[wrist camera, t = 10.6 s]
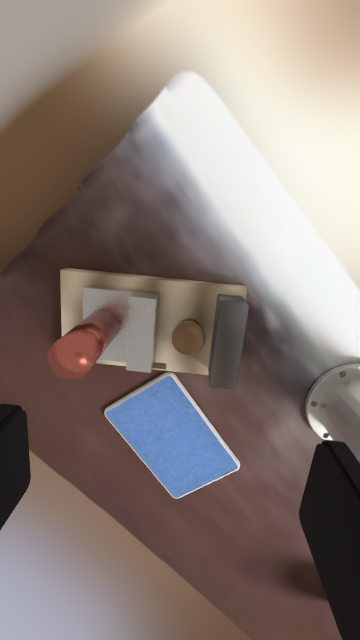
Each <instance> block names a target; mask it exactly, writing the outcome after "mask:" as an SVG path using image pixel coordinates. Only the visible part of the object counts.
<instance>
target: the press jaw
mask: <svg viewBox="0 0 360 640" xmlns="http://www.w3.org/2000/svg"><path fill="white" fill-rule="evenodd" d="M82 295H83V321H81V322H80V323H79V324H78V325H76V326H75V327H74V328H72V329H71V330H70V331H69V332H67V333H66V334H65V335H64V336H62V337H61V338H60V339H58V340H57V341H56V342H55V343H53V344H52V345H51V347H50V349H49V351H48V363H49V365H50V367H51V369H52V370H53V371H54V372H55V373H56V374H57V375H59V376H60V377H62V378H65V379H69V380H75V379H79V378H82V377H83V376H85V375H86V374H87V373H88V372H89V370H90V369H91V368H92V366H93V365H94V364H95V363H96V361H97V360H98V359H100V360H109V361H118V362H126V370H129V371H139V372H148V373H151V371H152V368H153V365H154V362H155V354H156V340H157V326H158V313H159V299H160V292H150V291H140V290H130V289H120V288H110V287H100V286H90V285H87V286H85V287H83V288H82Z"/></svg>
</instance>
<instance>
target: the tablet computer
mask: <svg viewBox="0 0 360 640" xmlns="http://www.w3.org/2000/svg"><path fill="white" fill-rule="evenodd" d="M104 414H105V417H106V418H107V419H108V420H109V422H110V423H111V424H112V425H113V426H114V427H115V429H116V430H117V431H118V432H119V433H120V435H121V436H122V437H123V438H124V439H125V441H126V442H127V443H128V444H129V445H130V447H131V448H132V449H133V450H134V451H135V453H136V454H137V455H138V456H139V458H140V459H141V460H142V461H143V462H144V464H145V465H146V466H147V467H148V468H149V469H150V471H151V472H152V473H153V474H154V476H155V477H156V478H157V479H158V480H159V482H160V483H161V484H162V485H163V486H164V487H165V489H166V490H167V491H168V492H169V494H170V495H171V496H172V497H173V498H180V497H183V496H185V495H187V494H189V493H191V492H193V491H195V490H197V489H199V488H201V487H203V486H205V485H207V484H210V483H212V482H214V481H216V480H218V479H220V478H222V477H224V476H226V475H228V474H230V473H232V472H234V471H237V470H238V469H239V467H240V462H239V461H238V459H237V458H236V457H235V455H234V454H233V453H232V451H231V450H230V449H229V447H228V446H227V445H226V443H225V442H224V441H223V439H222V438H221V437H220V435H219V434H218V433H217V431H216V430H215V428H214V427H213V426H212V424H211V423H210V422H209V420H208V419H207V418H206V416H205V415H204V413H203V412H202V411H201V409H200V408H199V407H198V405H197V404H196V403H195V401H194V400H193V399H192V397H191V396H190V394H189V393H188V392H187V390H186V389H185V388H184V386H183V385H182V383H181V382H180V381H179V379H178V378H177V376H176V375H175V374H174V373H173V372H166V373H164V374H162V375H160V376H159V377H157V378H155V379H154V380H152V381H150V382H148V383H147V384H145V385H143V386H142V387H140V388H138V389H137V390H135V391H133V392H132V393H130V394H128V395H126V396H125V397H123V398H121V399H120V400H118V401H117V402H115V403H113V404H112V405H110V406H108V407H107V408H106V409H105V411H104Z"/></svg>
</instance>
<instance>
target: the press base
mask: <svg viewBox="0 0 360 640" xmlns="http://www.w3.org/2000/svg"><path fill="white" fill-rule="evenodd" d="M60 283H61V324H62V336H64V335H65V334H66V333H67V332H69V331H70V330H71V329H72V328H74V327H75V326H76V325H78V324H79V323H80V322H81V321H83V295H82V288H83V287H85V286H87V285H90V286H100V287H110V288H120V289H130V290H140V291H150V292H160V299H159V313H158V326H157V340H156V354H155V362H154V365H153V368H152V369H156V370H165V371H174V372H184V373H193V374H202V375H209V385H210V387H213V388H222V389H232V390H236V384H237V378H238V372H239V366H240V360H241V353H242V347H243V341H244V335H245V329H246V323H247V316H248V310H249V305H248V304H247V302H246V296H247V290H248V288H247V287H246V286H244V285H233V284H223V283H213V282H203V281H193V280H183V279H173V278H163V277H153V276H143V275H133V274H122V273H112V272H102V271H92V270H82V269H72V268H65V269H62V270H60ZM96 363H100V364H109V365H118V366H126V362H118V361H109V360H100V359H98V360H97V361H96Z"/></svg>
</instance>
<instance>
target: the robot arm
mask: <svg viewBox="0 0 360 640" xmlns="http://www.w3.org/2000/svg"><path fill="white" fill-rule="evenodd" d="M305 413H306V418H307V420H308V423H309V424H310V426H311V428H312V430H313V431H314V432H315V433H316V434H317V435H318V436H319V437H320V438H322V439H323V440H324V441H323V442H322V444H318V445H317V446H316V449H315V453H314V456H313V460H312V464H311V468H310V471H309V475H308V479H307V483H306V486H305V490H304V494H303V498H302V502H301V505H300V510H299V517H300V522H301V525H302V528H303V531H304V534H305V537H306V539H307V542H308V545H309V548H310V551H311V554H312V556H313V559H314V562H315V565H316V568H317V570H318V573H319V576H320V579H321V582H322V585H323V587H324V590H325V593H326V596H327V599H328V601H329V604H330V607H331V610H332V613H333V616H334V618H335V621H336V624H337V627H338V630H339V633H340V635H341V638H342V640H360V363H351V364H346V365H341V366H339V367H336V368H334V369H331V370H330V371H328V372H326V373H325V374H323V375H322V376H321V377H320V378H319V379H318V380H317V381H316V382H315V383H314V384H313V386H312V387H311V389H310V391H309V392H308V394H307V398H306V401H305ZM30 478H31V475H30V460H29V445H28V430H27V415H26V412H25V411H22V408H21V406H19V405H11V404H0V530H1V528H2V527H3V525H4V524H5V522H6V521H7V519H8V518H9V516H10V514H11V513H12V511H13V510H14V509H15V507H16V505H17V504H18V502H19V501H20V499H21V498H22V496H23V495H24V493H25V492H26V490H27V488H28V486H29V483H30Z"/></svg>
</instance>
